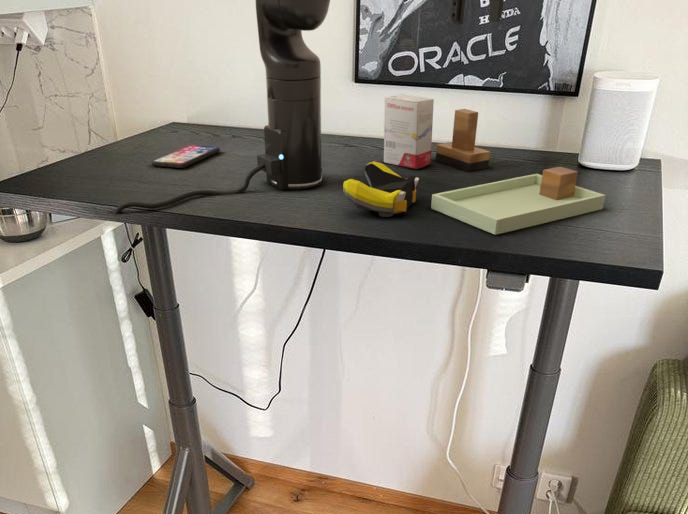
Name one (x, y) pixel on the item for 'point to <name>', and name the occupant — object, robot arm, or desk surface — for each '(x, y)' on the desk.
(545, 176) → the wooden block
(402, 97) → the ink box
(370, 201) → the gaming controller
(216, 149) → the smartphone
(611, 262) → the desk surface
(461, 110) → the brush
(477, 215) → the tray
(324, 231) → the desk surface
